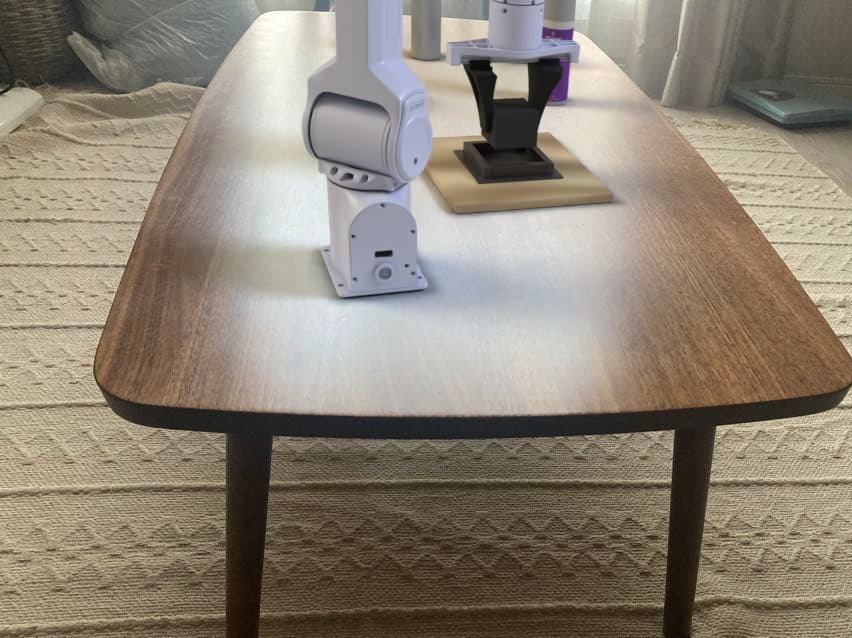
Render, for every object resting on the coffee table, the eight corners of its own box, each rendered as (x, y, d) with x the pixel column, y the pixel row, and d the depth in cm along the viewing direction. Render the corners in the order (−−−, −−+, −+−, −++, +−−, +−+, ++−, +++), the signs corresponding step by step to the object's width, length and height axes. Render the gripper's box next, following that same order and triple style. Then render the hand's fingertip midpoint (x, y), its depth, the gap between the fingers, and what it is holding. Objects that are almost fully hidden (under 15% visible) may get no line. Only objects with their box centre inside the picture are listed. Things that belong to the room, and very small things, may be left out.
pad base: (612, 202, 103) (615, 180, 101) (455, 214, 97) (456, 191, 96) (548, 139, 118) (550, 119, 116) (409, 146, 112) (409, 126, 111)
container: (538, 106, 129) (548, -11, 120) (530, 95, 132) (538, -19, 124) (571, 105, 130) (582, -10, 121) (561, 95, 134) (572, -18, 125)
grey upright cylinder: (406, 57, 143) (406, -15, 137) (418, 50, 147) (418, -20, 141) (433, 62, 142) (434, -10, 136) (444, 55, 146) (446, -16, 140)
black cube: (536, 147, 104) (539, 111, 102) (494, 149, 103) (496, 113, 100) (521, 132, 108) (524, 97, 106) (480, 134, 106) (482, 98, 104)
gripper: (567, -10, 102) (556, 114, 110) (439, -10, 97) (437, 119, 105) (592, 6, 97) (579, 134, 105) (458, 6, 92) (454, 140, 100)
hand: (509, 128), depth 104 cm, fingers closed on black cube, 5 cm apart
